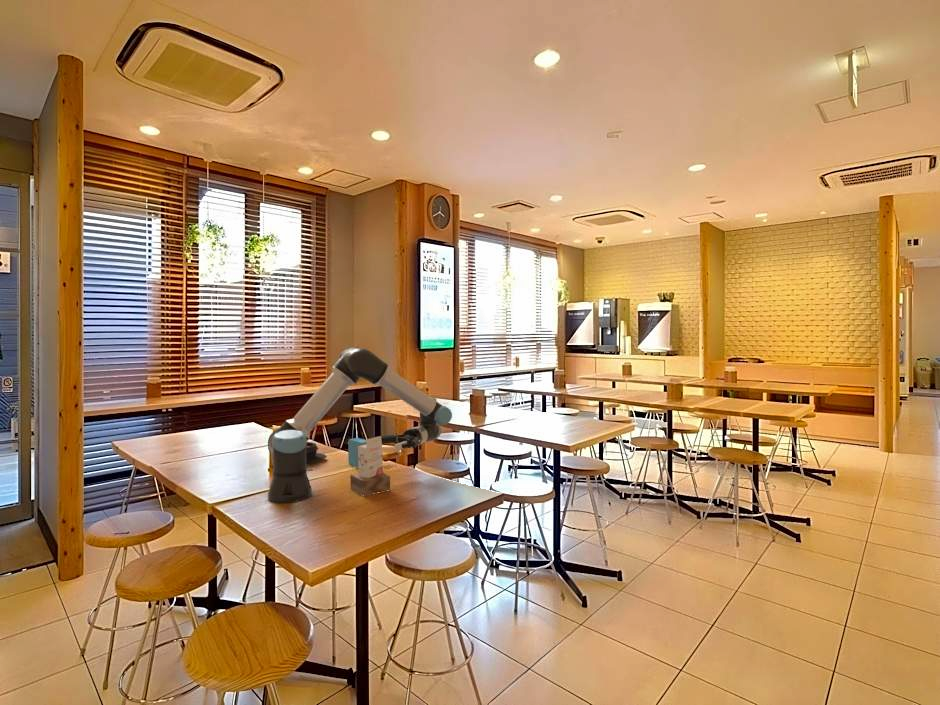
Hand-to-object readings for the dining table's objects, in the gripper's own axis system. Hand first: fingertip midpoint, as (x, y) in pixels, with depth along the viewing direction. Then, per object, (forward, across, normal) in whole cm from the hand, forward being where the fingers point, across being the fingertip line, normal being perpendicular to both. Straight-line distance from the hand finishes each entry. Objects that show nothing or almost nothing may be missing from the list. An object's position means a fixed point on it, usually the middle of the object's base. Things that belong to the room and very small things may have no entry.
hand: (382, 445), depth 196 cm
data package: (-18, +29, -16) cm, 37 cm away
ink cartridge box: (+6, 0, -10) cm, 12 cm away
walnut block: (+6, +1, -16) cm, 17 cm away
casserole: (-7, +56, -16) cm, 59 cm away
